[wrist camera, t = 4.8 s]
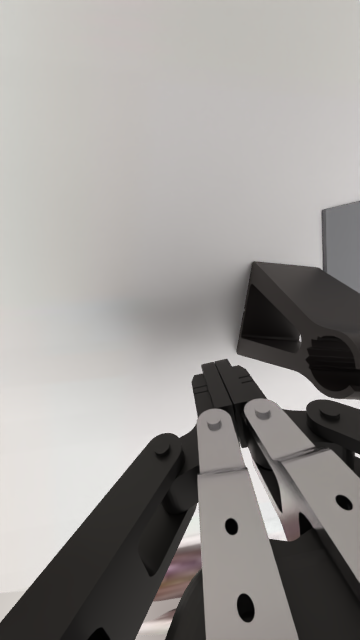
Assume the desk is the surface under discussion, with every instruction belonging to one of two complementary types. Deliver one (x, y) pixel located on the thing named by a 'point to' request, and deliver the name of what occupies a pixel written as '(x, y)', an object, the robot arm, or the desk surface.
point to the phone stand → (304, 326)
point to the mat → (342, 243)
